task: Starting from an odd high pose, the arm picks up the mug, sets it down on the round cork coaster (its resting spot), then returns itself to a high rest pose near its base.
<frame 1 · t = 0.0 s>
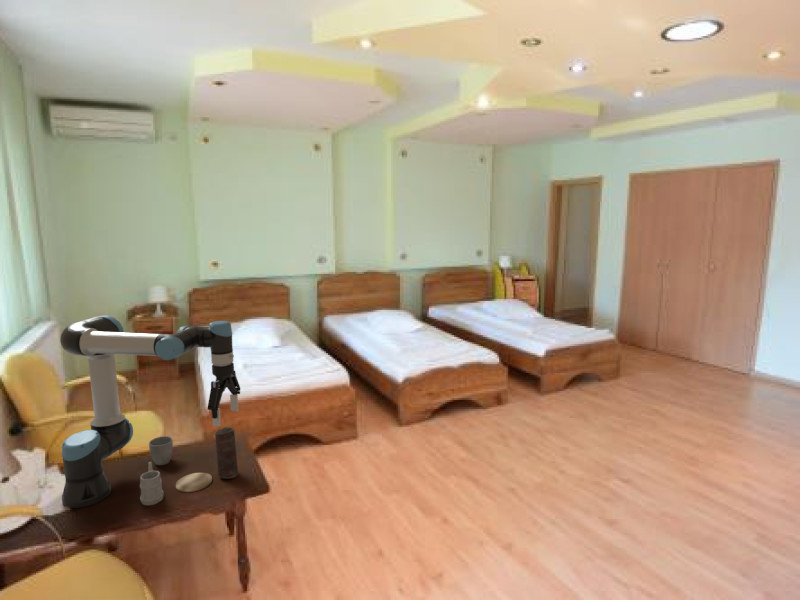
hand: (226, 418, 179), 28 cm above the table, fingers open, 13 cm apart
coaster: (194, 482, 186), on the table
mug: (152, 497, 177), on the table
candle: (227, 476, 191), on the table
mug 2: (161, 461, 203), on the table
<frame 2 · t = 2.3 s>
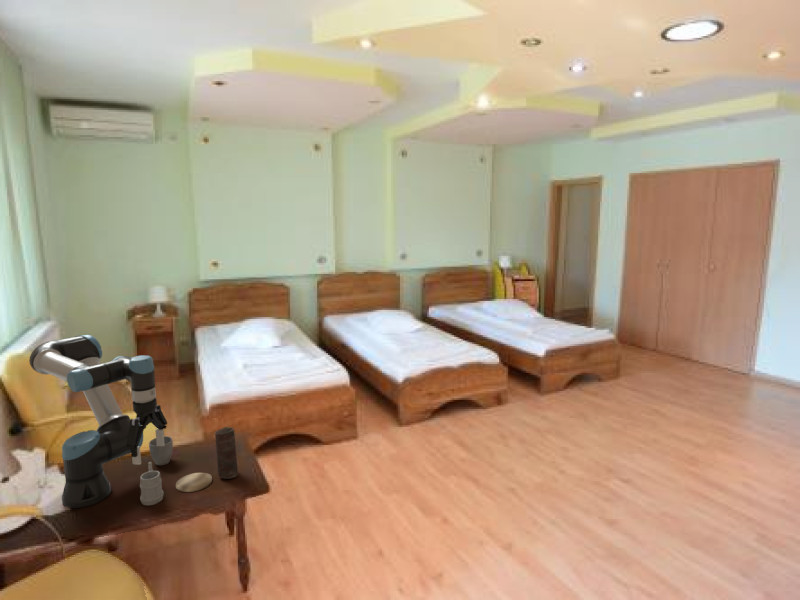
hand: (149, 454, 174), 17 cm above the table, fingers open, 13 cm apart
nothing on the table moved.
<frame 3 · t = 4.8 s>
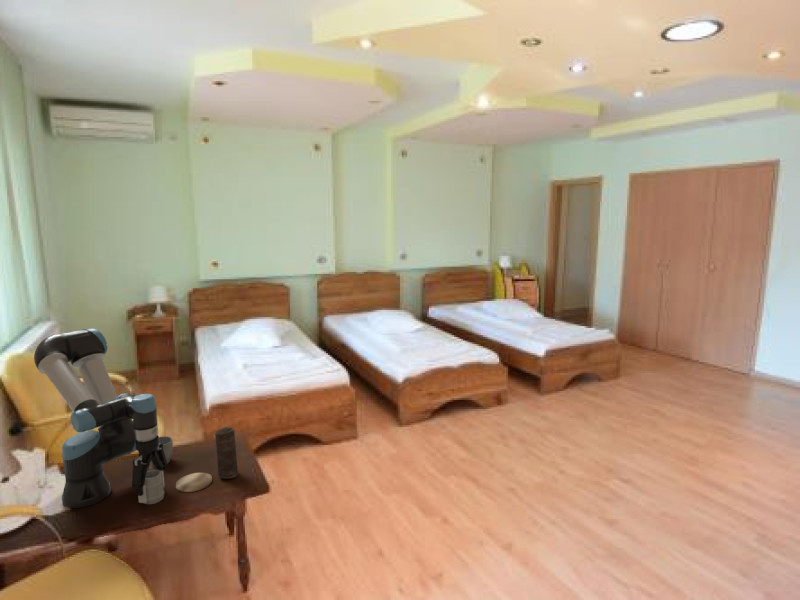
hand: (152, 494, 176), 1 cm above the table, fingers closed on mug, 9 cm apart
mug: (153, 496, 177), on the table, touching gripper
everything else where it was.
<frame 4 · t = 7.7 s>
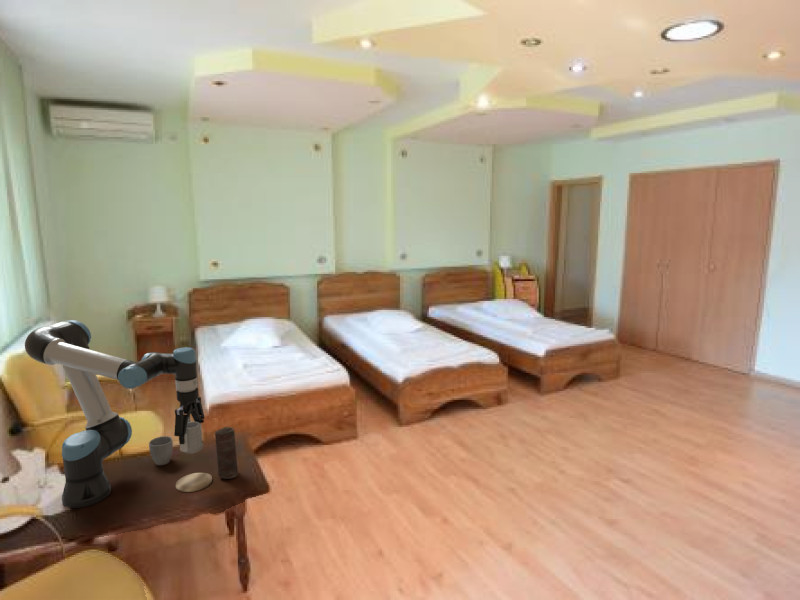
hand: (191, 444, 183), 16 cm above the table, fingers closed on mug, 9 cm apart
mug: (192, 447, 184), point 14 cm above the table, touching gripper
everything else where it was.
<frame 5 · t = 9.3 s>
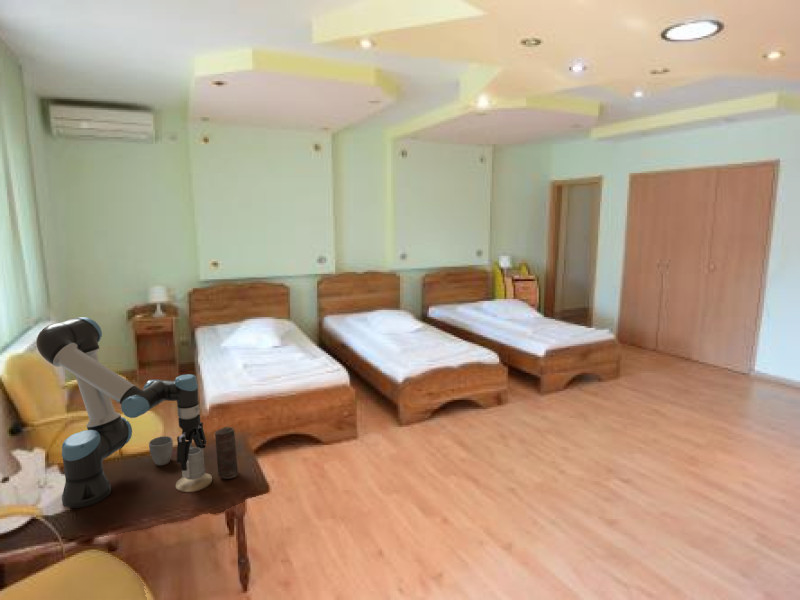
hand: (193, 470, 185), 5 cm above the table, fingers closed on mug, 9 cm apart
mug: (194, 473, 186), point 4 cm above the table, touching gripper
everything else where it was.
when the fingers open (3 cm above the table, at t = 10.6 s): mug drops 1 cm, resting on coaster.
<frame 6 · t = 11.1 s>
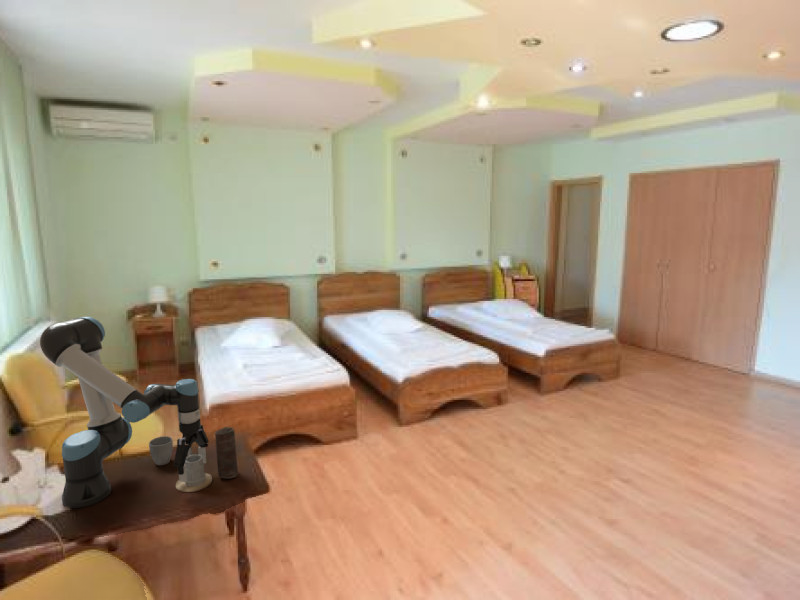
hand: (193, 471, 185), 5 cm above the table, fingers open, 13 cm apart
mug: (194, 480, 187), resting on coaster
everything else where it was.
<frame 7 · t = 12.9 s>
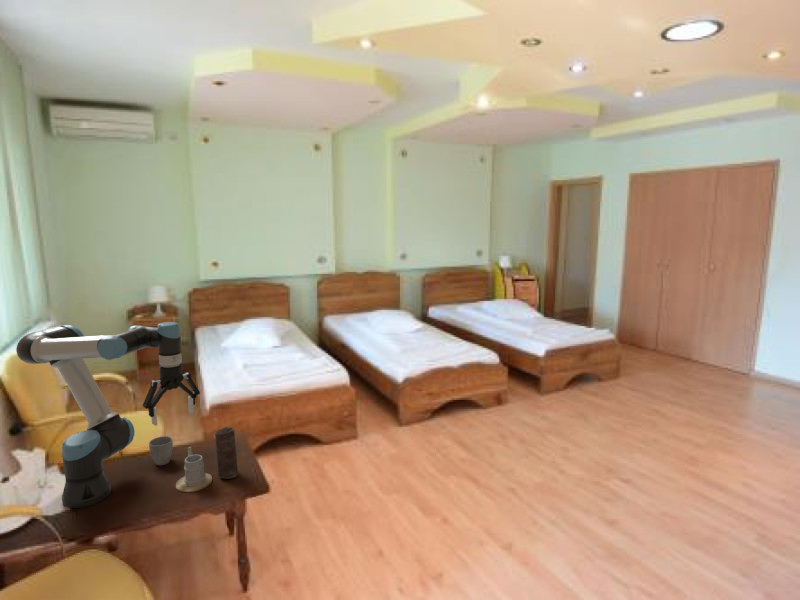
hand: (173, 418, 180), 27 cm above the table, fingers open, 13 cm apart
nothing on the table moved.
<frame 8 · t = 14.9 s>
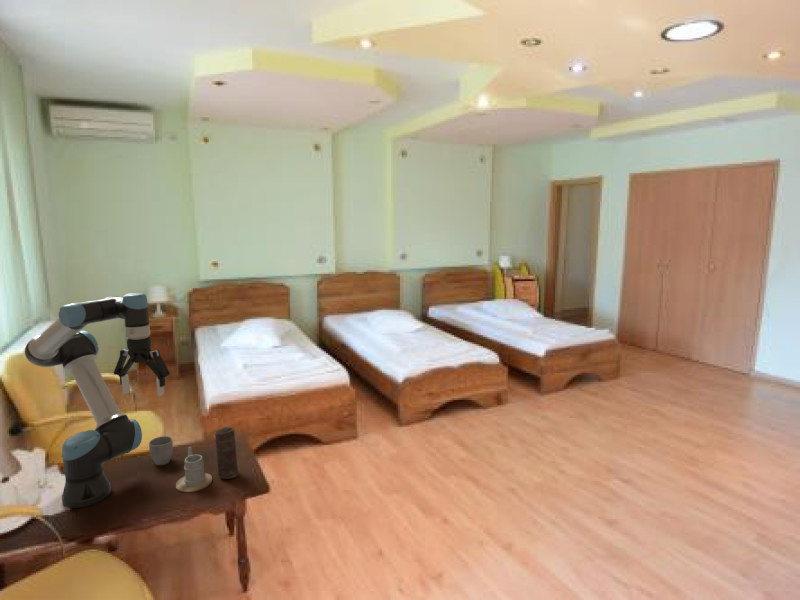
hand: (143, 394, 173), 39 cm above the table, fingers open, 13 cm apart
nothing on the table moved.
at the end: mug inside the target area on the coaster (1.3 cm from its centre), point 0.5 cm above the coaster's base; mug tilted 0°; the gripper is holding nothing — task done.
